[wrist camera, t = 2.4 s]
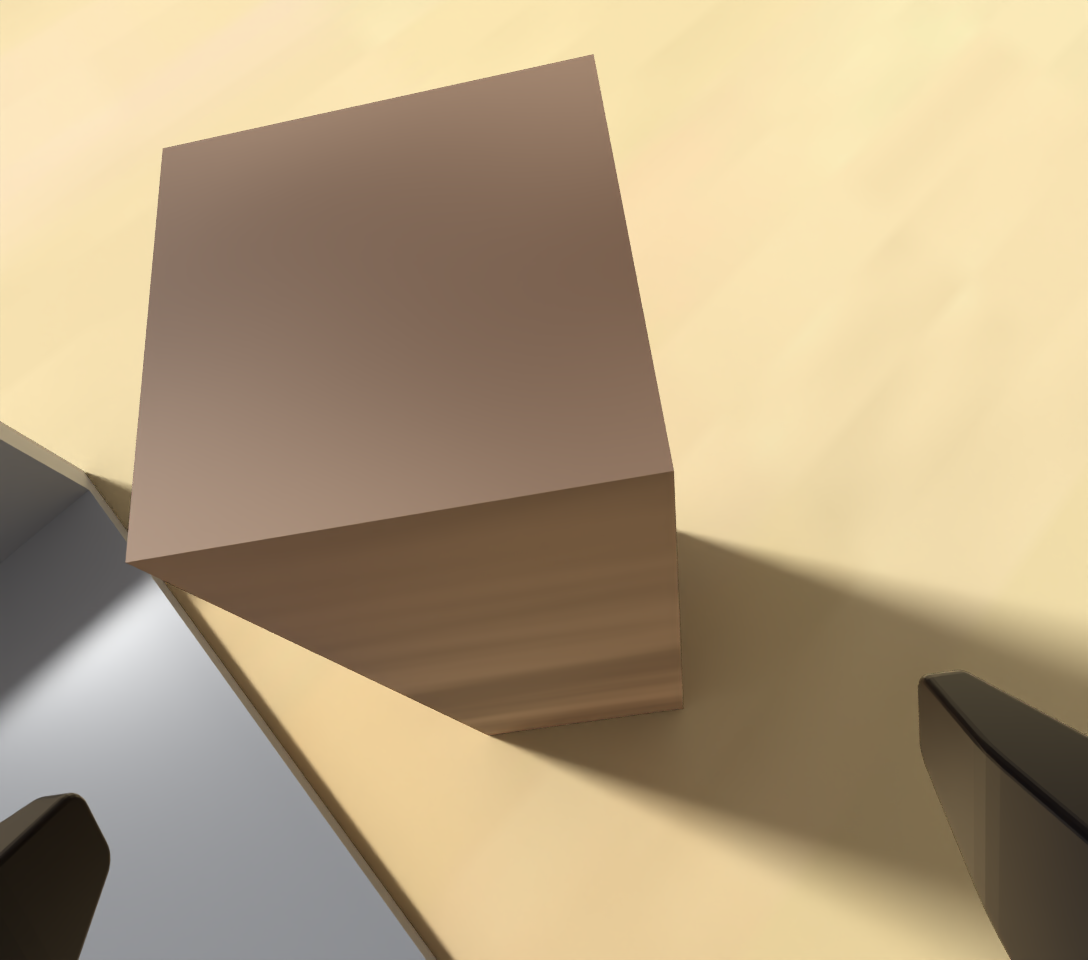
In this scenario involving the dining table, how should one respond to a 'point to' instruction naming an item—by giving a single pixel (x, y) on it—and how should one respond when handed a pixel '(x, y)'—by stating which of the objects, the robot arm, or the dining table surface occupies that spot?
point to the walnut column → (417, 402)
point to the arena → (161, 751)
